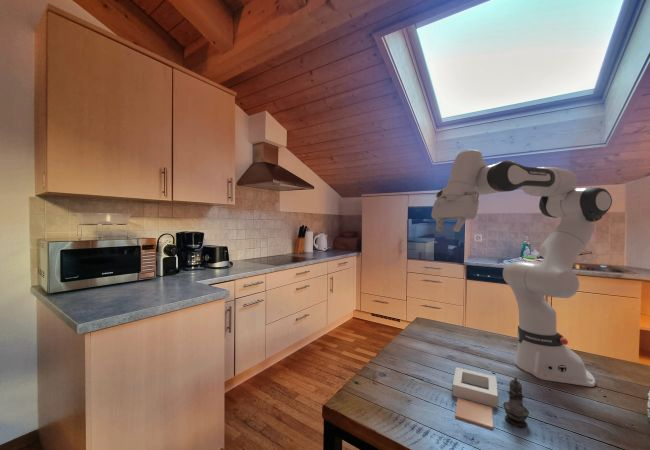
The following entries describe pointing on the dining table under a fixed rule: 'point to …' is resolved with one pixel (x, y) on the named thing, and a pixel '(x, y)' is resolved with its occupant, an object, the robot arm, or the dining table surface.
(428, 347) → the dining table surface
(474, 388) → the socket block
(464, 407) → the terracotta tile
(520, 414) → the dark turned stone ornament
